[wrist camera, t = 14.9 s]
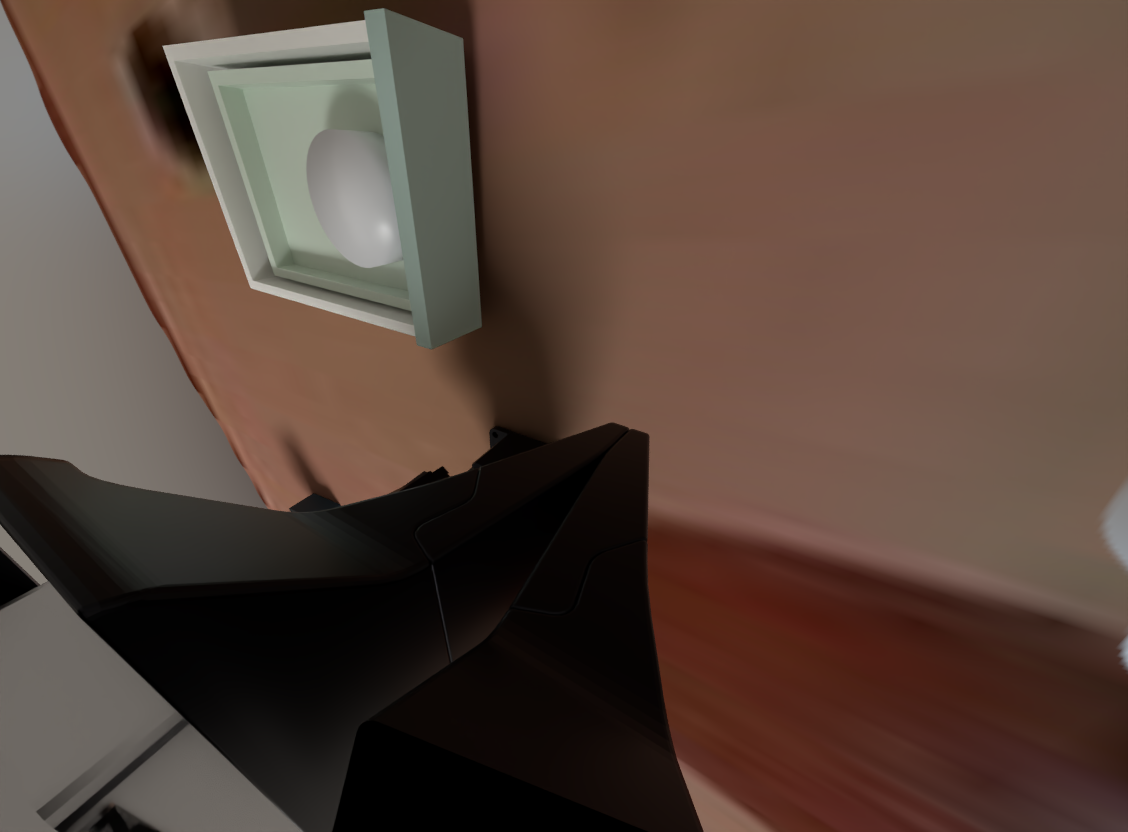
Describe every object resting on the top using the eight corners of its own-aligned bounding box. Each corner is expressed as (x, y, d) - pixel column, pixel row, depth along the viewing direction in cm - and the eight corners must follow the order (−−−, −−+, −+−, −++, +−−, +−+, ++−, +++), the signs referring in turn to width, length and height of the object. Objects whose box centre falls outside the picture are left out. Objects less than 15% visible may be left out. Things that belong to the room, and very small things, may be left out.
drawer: (481, 327, 23) (431, 349, 20) (309, 282, 29) (250, 294, 26) (463, 38, 17) (383, 7, 14) (245, 58, 23) (157, 40, 20)
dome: (442, 238, 20) (411, 244, 19) (381, 275, 24) (351, 282, 23) (383, 104, 18) (344, 99, 17) (326, 167, 22) (290, 167, 21)
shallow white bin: (478, 316, 25) (424, 339, 21) (313, 275, 31) (250, 288, 28) (460, 47, 18) (377, 18, 15) (254, 63, 24) (162, 45, 21)
